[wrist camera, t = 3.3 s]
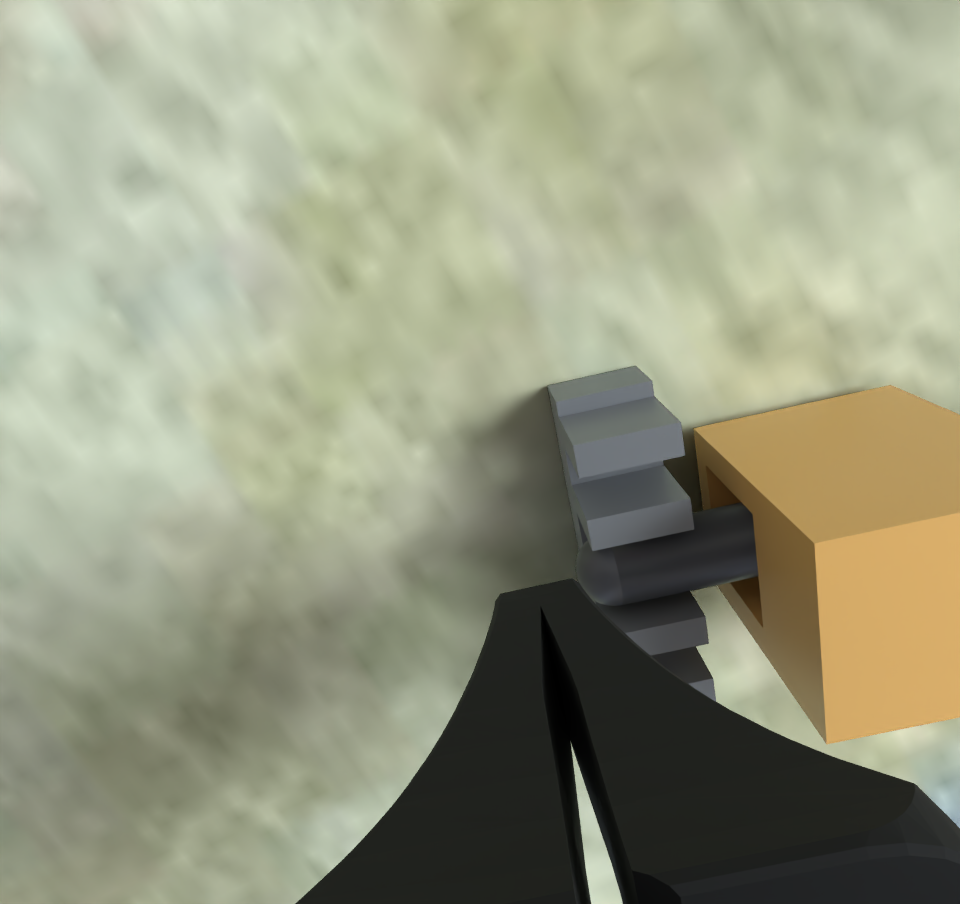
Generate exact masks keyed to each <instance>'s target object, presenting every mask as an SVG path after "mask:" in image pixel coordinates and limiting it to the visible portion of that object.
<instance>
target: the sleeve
mask: <svg viewBox="0 0 960 904" xmlns="http://www.w3.org/2000/svg"><path fill="white" fill-rule="evenodd" d="M693 430H694V438H695V446H696V455H697V463H698V471H699V480H700V488H701V496H702V505H703V510H708V509H712V508H717V507H722V506H726V505H731V504H736V503H740V502H742V504H743V505H744V506H745V507H746V508H747V509H748V510H749V511H750V512H751V513H752V514H753V523H754V534H755V545H756V555H757V566H758V577H753V578H749V579H744V580H739V581H735V582H730V583H725V584H720V585H717V586H718V587H719V589H720V590H721V592H722V593H723V595H724V596H725V598H726V599H727V600H728V602H729V603H730V605H731V606H732V608H733V609H734V611H735V612H736V613H737V615H738V616H739V618H740V619H741V621H742V622H743V624H744V625H745V627H746V628H747V629H748V631H749V632H750V634H751V635H752V637H753V638H754V640H755V641H756V642H757V644H758V645H759V647H760V648H761V650H762V651H763V653H764V654H765V656H766V657H767V658H768V660H769V661H770V663H771V664H772V666H773V667H774V669H775V670H776V671H777V673H778V674H779V676H780V677H781V679H782V680H783V682H784V683H785V685H786V686H787V687H788V689H789V690H790V692H791V693H792V695H793V696H794V698H795V699H796V700H797V702H798V703H799V705H800V706H801V708H802V709H803V711H804V712H805V714H806V715H807V716H808V718H809V719H810V721H811V722H812V724H813V725H814V727H815V728H816V729H817V731H818V732H819V734H820V735H821V737H822V738H823V740H824V741H825V743H826V744H830V743H835V742H840V741H845V740H850V739H855V738H860V737H865V736H870V735H875V734H880V733H885V732H889V731H894V730H899V729H904V728H909V727H914V726H919V725H924V724H929V723H934V722H939V721H944V720H949V719H954V718H958V717H960V415H959V414H957V413H954V412H952V411H950V410H947V409H945V408H943V407H940V406H938V405H936V404H933V403H931V402H929V401H927V400H924V399H922V398H920V397H917V396H915V395H913V394H910V393H908V392H906V391H903V390H901V389H899V388H896V387H894V386H892V385H888V386H884V387H879V388H875V389H870V390H866V391H861V392H857V393H852V394H847V395H843V396H838V397H834V398H829V399H825V400H820V401H815V402H811V403H806V404H802V405H797V406H793V407H788V408H783V409H779V410H774V411H770V412H765V413H761V414H756V415H752V416H747V417H742V418H738V419H733V420H729V421H724V422H720V423H715V424H710V425H706V426H701V427H697V428H693Z"/></svg>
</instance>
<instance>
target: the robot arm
mask: <svg viewBox="0 0 960 904" xmlns="http://www.w3.org/2000/svg"><path fill="white" fill-rule="evenodd" d="M570 741H571V742H570ZM571 744H572V747H573V750H574V753H575V756H576V759H577V762H578V765H579V768H580V771H581V774H582V777H583V780H584V783H585V786H586V789H587V791H588V794H589V797H590V800H591V803H592V806H593V809H594V812H595V815H596V818H597V821H598V824H599V827H600V830H601V833H602V836H603V839H604V842H605V845H606V848H607V851H608V854H609V857H610V860H611V863H612V866H613V869H614V873H615V876H616V880H617V883H618V886H619V890H620V893H621V897H622V901H623V904H960V828H959V827H958V826H957V825H956V824H955V823H954V822H953V821H952V820H951V819H950V818H949V817H948V816H947V815H946V814H945V813H944V812H943V811H942V810H941V809H940V808H939V807H938V806H937V805H936V804H935V803H934V802H933V801H932V800H931V799H930V798H929V797H928V796H927V795H926V794H925V793H924V792H923V791H922V790H921V789H920V788H919V787H918V786H917V785H915V784H914V783H911V782H908V781H905V780H902V779H899V778H896V777H893V776H889V775H886V774H883V773H880V772H877V771H874V770H871V769H868V768H865V767H862V766H859V765H856V764H853V763H850V762H846V761H843V760H840V759H838V758H835V757H832V756H830V755H827V754H824V753H822V752H820V751H817V750H815V749H812V748H810V747H807V746H805V745H802V744H800V743H798V742H795V741H793V740H790V739H788V738H786V737H784V736H781V735H779V734H777V733H775V732H773V731H770V730H768V729H766V728H764V727H762V726H761V725H759V724H757V723H755V722H753V721H751V720H749V719H747V718H745V717H743V716H741V715H739V714H737V713H735V712H733V711H731V710H729V709H728V708H726V707H724V706H722V705H721V704H719V703H717V702H716V701H714V700H712V699H711V698H709V697H708V696H706V695H704V694H703V693H701V692H700V691H698V690H697V689H695V688H694V687H692V686H691V685H689V684H688V683H686V682H685V681H683V680H682V679H681V678H679V677H678V676H676V675H675V674H674V673H672V672H671V671H670V670H668V669H667V668H666V667H664V666H663V665H662V664H661V663H659V662H658V661H657V660H656V659H654V658H653V657H652V656H650V655H649V654H648V653H647V652H646V651H644V650H643V649H642V648H641V647H640V646H639V645H637V644H636V643H635V642H634V641H633V640H632V639H631V638H630V637H629V636H628V635H626V634H625V633H624V632H623V631H622V630H621V629H620V628H619V627H618V626H617V625H616V624H615V623H614V622H613V621H612V620H611V619H610V618H609V617H608V616H607V615H606V614H605V613H604V612H603V611H602V610H601V609H600V608H599V607H598V606H597V605H596V604H595V602H594V601H593V600H592V599H591V598H590V597H589V595H588V594H587V593H586V592H585V590H584V589H583V588H582V586H581V585H580V583H578V582H577V581H575V580H574V579H567V580H563V581H558V582H553V583H549V584H544V585H539V586H535V587H530V588H525V589H521V590H516V591H511V592H507V593H502V594H500V595H499V597H498V598H497V599H496V601H495V607H494V612H493V616H492V620H491V623H490V627H489V630H488V633H487V636H486V639H485V642H484V645H483V648H482V650H481V653H480V656H479V658H478V661H477V663H476V666H475V669H474V671H473V673H472V676H471V678H470V680H469V682H468V684H467V686H466V689H465V691H464V693H463V695H462V697H461V699H460V701H459V703H458V705H457V708H456V710H455V711H454V713H453V715H452V717H451V719H450V721H449V723H448V724H447V726H446V728H445V730H444V731H443V733H442V735H441V737H440V738H439V740H438V741H437V743H436V745H435V746H434V748H433V750H432V751H431V753H430V754H429V756H428V757H427V759H426V760H425V762H424V763H423V765H422V766H421V767H420V769H419V770H418V772H417V773H416V775H415V776H414V777H413V779H412V780H411V782H410V783H409V785H408V786H407V787H406V789H405V790H404V791H403V793H402V794H401V795H400V797H399V798H398V799H397V800H396V802H395V803H394V804H393V805H392V807H391V808H390V809H389V810H388V811H387V813H386V814H385V815H384V816H383V817H382V818H381V819H380V821H379V822H378V823H377V824H376V825H375V826H374V828H373V829H372V830H371V831H370V832H369V833H368V834H367V835H366V836H365V837H364V838H363V839H362V841H361V842H360V843H359V844H358V845H357V846H356V847H355V848H354V849H353V850H352V851H351V852H350V853H349V854H348V855H347V856H346V857H345V858H344V859H343V860H342V861H341V862H340V863H339V864H338V865H337V866H336V867H335V868H334V869H332V870H331V871H330V872H329V873H328V874H327V875H326V876H325V877H324V878H323V879H322V880H321V881H320V882H319V883H317V884H316V885H315V886H314V887H313V888H312V889H311V890H310V891H309V892H308V893H307V894H306V895H305V896H304V897H302V898H301V899H300V900H299V901H298V902H297V903H296V904H591V901H590V894H589V888H588V882H587V875H586V869H585V860H584V852H583V843H582V835H581V826H580V818H579V809H578V801H577V792H576V784H575V775H574V767H573V758H572V750H571Z"/></svg>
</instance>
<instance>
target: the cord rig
mask: <svg viewBox="0 0 960 904" xmlns="http://www.w3.org/2000/svg"><path fill="white" fill-rule="evenodd" d="M548 392H549V397H550V402H551V407H552V412H553V418H554V423H555V428H556V433H557V439H558V444H559V449H560V454H561V460H562V465H563V470H564V475H565V481H566V486H567V491H568V496H569V502H570V507H571V512H572V517H573V522H574V528H575V533H576V538H577V543H578V549H579V553H578V555H577V559H576V567H575V570H576V576H577V580H578V583H580V585H581V586H582V588H583V589H584V590H585V592H586V593H587V594H588V595H589V597H590V598H591V599H592V600H593V601H594V602H595V604H596V605H597V606H598V607H599V608H600V609H601V610H602V611H603V612H604V613H605V614H606V615H607V616H608V617H609V618H610V619H611V620H612V621H613V622H614V623H615V624H616V625H617V626H618V627H619V628H620V629H621V630H622V631H623V632H624V633H625V634H626V635H628V636H629V637H630V638H631V639H632V640H633V641H634V642H635V643H636V644H637V645H639V646H640V647H641V648H642V649H643V650H644V651H646V652H647V653H648V654H649V655H650V656H652V657H653V658H654V659H656V660H657V661H658V662H659V663H661V664H662V665H663V666H664V667H666V668H667V669H668V670H670V671H671V672H672V673H674V674H675V675H676V676H678V677H679V678H681V679H682V680H683V681H685V682H686V683H688V684H689V685H691V686H692V687H694V688H695V689H697V690H698V691H700V692H701V693H703V694H704V695H706V696H708V697H709V698H711V699H712V700H714V701H716V697H715V689H714V681H713V677H712V676H711V674H710V672H709V670H708V668H707V666H706V665H705V663H704V661H703V659H702V657H701V655H700V654H699V652H698V650H697V648H696V646H699V645H704V644H709V642H708V634H707V626H706V618H705V615H704V613H703V612H702V610H701V608H700V607H699V605H698V604H697V602H696V600H695V599H694V597H693V595H692V594H691V592H690V591H692V590H697V589H701V588H706V587H711V586H716V585H720V584H725V583H730V582H735V581H739V580H744V579H749V578H753V577H758V566H757V555H756V545H755V534H754V523H753V514H752V513H751V512H750V511H749V510H748V509H747V508H746V507H745V506H744V505H743V504H742V502H740V503H736V504H731V505H726V506H722V507H717V508H712V509H708V510H703V511H698V512H694V513H692V507H691V499H690V497H689V496H688V495H687V494H686V492H685V491H684V490H683V489H682V487H681V486H680V485H679V483H678V482H677V481H676V480H675V478H674V477H673V476H672V475H671V473H670V472H669V471H668V470H667V468H666V467H665V466H664V464H663V460H667V459H672V458H676V457H681V456H685V451H684V443H683V435H682V427H681V422H680V421H679V420H678V419H677V418H676V417H675V416H674V415H673V414H672V413H671V412H670V411H669V410H668V409H667V408H666V407H665V406H664V405H663V404H662V403H661V402H660V401H659V400H658V399H657V398H656V397H655V396H654V391H653V384H652V380H651V379H650V378H649V377H647V376H646V375H645V374H644V373H643V372H642V371H641V370H640V369H639V368H638V367H637V366H633V367H629V368H624V369H620V370H615V371H611V372H606V373H602V374H597V375H593V376H588V377H584V378H579V379H575V380H570V381H566V382H561V383H557V384H552V385H548Z"/></svg>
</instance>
